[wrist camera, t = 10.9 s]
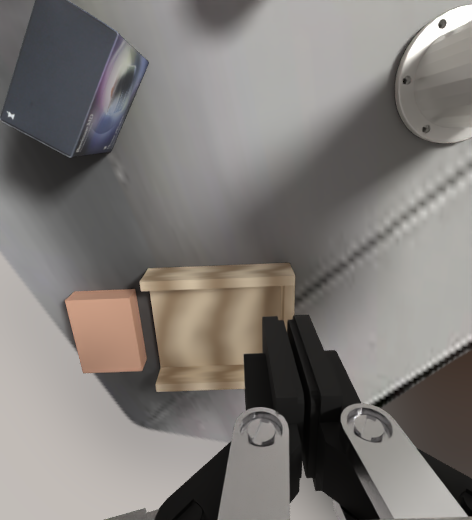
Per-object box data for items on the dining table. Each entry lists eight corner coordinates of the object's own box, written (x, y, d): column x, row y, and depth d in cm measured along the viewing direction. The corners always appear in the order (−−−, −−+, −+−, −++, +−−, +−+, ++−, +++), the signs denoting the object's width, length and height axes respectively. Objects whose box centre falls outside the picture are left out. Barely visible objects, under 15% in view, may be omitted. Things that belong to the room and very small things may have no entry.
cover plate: (136, 287, 44) (129, 298, 41) (147, 356, 47) (142, 370, 45) (75, 290, 44) (64, 300, 41) (92, 359, 47) (83, 373, 45)
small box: (114, 155, 37) (72, 162, 28) (58, 125, 36) (-7, 121, 26) (153, 62, 34) (121, 33, 24) (93, 25, 33) (34, -22, 23)
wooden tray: (289, 262, 42) (295, 275, 38) (287, 366, 48) (292, 386, 44) (148, 268, 42) (139, 281, 38) (162, 370, 48) (156, 391, 44)
